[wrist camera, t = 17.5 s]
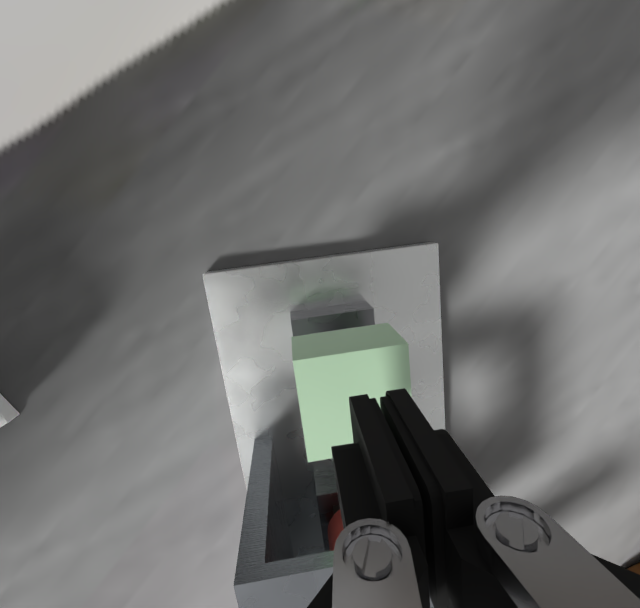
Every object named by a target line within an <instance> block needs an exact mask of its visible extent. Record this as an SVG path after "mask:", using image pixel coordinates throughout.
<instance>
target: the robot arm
mask: <svg viewBox="0 0 640 608" xmlns="http://www.w3.org/2000/svg"><path fill="white" fill-rule="evenodd" d="M349 406H350V415H351V424H352V433H353V442H354V443H351V444H344V445H338V446H332V447H331V450H332V458H333V466H334V473H335V480H336V487H337V493H338V500H339V506H340V511H341V517H342V523H343V529H344V530H343V531H341V533H340V534H339V536H338V538H337V540H336V542H335V547H334V555H333V573H332V575H331V576H330V577H329V579H328V580H327V581H326V583H325V584H324V585H323V587H322V588H321V589H320V591H319V592H318V593H317V595H316V596H315V597H314V599H313V600H312V601H311V603H310V604H309V605H308V607H307V608H430V598H431V601H432V604H433V606H434V608H640V575H639V574H637V573H635V572H632V571H630V570H627V569H625V568H623V567H620V566H618V565H616V564H613V563H611V562H609V561H606V560H604V559H602V558H599V557H597V556H594V555H592V554H590V553H589V552H588V551H587V550H586V549H585V548H584V547H583V546H582V545H581V544H579V543H578V542H577V541H576V540H575V539H574V538H573V537H572V536H571V535H570V534H569V533H568V532H566V531H565V530H564V529H563V528H562V527H561V526H560V525H559V524H558V523H557V522H556V521H555V520H554V519H552V518H551V517H550V516H549V515H548V514H547V513H546V512H544V511H543V510H542V509H540V508H539V507H538V506H536V505H534V504H532V503H530V502H528V501H526V500H523V499H519V498H516V497H512V496H494V495H493V493H492V492H491V491H490V489H489V488H488V487H487V485H486V484H485V483H484V481H483V480H482V479H481V477H480V476H479V474H478V473H477V472H476V470H475V469H474V468H473V466H472V465H471V464H470V462H469V461H468V460H467V458H466V457H465V455H464V454H463V453H462V451H461V450H460V449H459V447H458V446H457V445H456V443H455V442H454V440H453V439H452V438H451V436H450V435H449V434H448V432H447V431H446V430H444V429H438V430H433V428H432V427H431V425H430V424H429V422H428V421H427V420H426V418H425V417H424V415H423V414H422V412H421V411H420V409H419V408H418V406H417V405H416V403H415V402H414V400H413V399H412V397H411V396H410V394H409V393H408V392H407V390H406V389H405V388H403V389H396V390H390V391H386V396H383V397H380V406H379V404H378V402H377V400H376V398H370V399H369V396H368V394H364V395H357V396H351V397H349ZM380 408H381V409H380Z"/></svg>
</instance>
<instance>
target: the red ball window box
mask: <svg viewBox="0 0 640 608" xmlns="http://www.w3.org/2000/svg"><path fill="white" fill-rule="evenodd" d="M202 276H203V281H204V286H205V291H206V296H207V301H208V306H209V310H210V315H211V320H212V325H213V330H214V335H215V339H216V344H217V349H218V354H219V359H220V364H221V369H222V373H223V378H224V383H225V388H226V393H227V398H228V403H229V407H230V412H231V417H232V422H233V427H234V432H235V437H236V441H237V446H238V451H239V456H240V461H241V466H242V470H243V475H244V480H245V485H246V490H247V496H246V503H245V510H244V517H243V524H242V531H241V538H240V545H239V552H238V559H237V566H236V573H235V580H234V589H235V594H236V598H237V602H238V606H239V608H307V607H308V605H309V604H310V603H311V601H312V600H313V599H314V597H315V596H316V595H317V593H318V592H319V591H320V589H321V588H322V587H323V585H324V584H325V583H326V581H327V580H328V579H329V577H330V576H331V575H332V573H333V555H334V550H333V551H330V548H329V541H328V532H327V530H328V524H329V522H330V520H331V518H332V517H333V515H334V514H335V513H336V512H337V511H338V510H340V506H339V500H338V493H337V487H336V480H335V473H334V466H333V458H331V459H325V460H319V461H313V462H308V460H307V453H306V446H305V440H304V433H303V427H302V420H301V413H300V407H299V400H298V394H297V387H296V380H295V374H294V367H293V360H292V339H291V337H294V336H301V335H307V334H314V333H321V332H328V331H335V330H342V329H348V328H355V327H362V326H369V325H376V324H382V323H389V324H390V325H391V327H392V328H393V329H394V330H395V331H396V332H397V333H398V334H399V335H400V336H401V337H402V338H403V339H404V340H405V341H406V342H407V343H408V346H409V362H410V378H411V394H412V399H413V400H414V402H415V403H416V405H417V406H418V408H419V409H420V411H421V412H422V414H423V415H424V417H425V418H426V420H427V421H428V422H429V424H430V425H431V427H432V428H433V430H438V429H444V430H445V408H444V382H443V355H442V329H441V303H440V276H439V250H438V243H434V242H426V243H418V244H411V245H403V246H396V247H388V248H381V249H373V250H366V251H358V252H351V253H343V254H336V255H328V256H320V257H313V258H305V259H298V260H290V261H283V262H275V263H268V264H260V265H253V266H245V267H238V268H230V269H223V270H215V271H207V272H205V273H204V274H202ZM430 608H434V606H433V604H432V601H431V598H430Z"/></svg>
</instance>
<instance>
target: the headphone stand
mask: <svg viewBox="0 0 640 608" xmlns="http://www.w3.org/2000/svg"><path fill="white" fill-rule="evenodd" d="M18 415H20V413H19V412H18V411H17V410H16V409H15V408H14V407H13V406H12V405H11V404H10V403H9V402H8V401H7V400H6V399H5V398H4V397H3V396H2V395H1V394H0V427H2V426H4V425H5V424H7V423H9V422H10V421H11V420H13V419H14V418H15V417H17V416H18Z"/></svg>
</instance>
